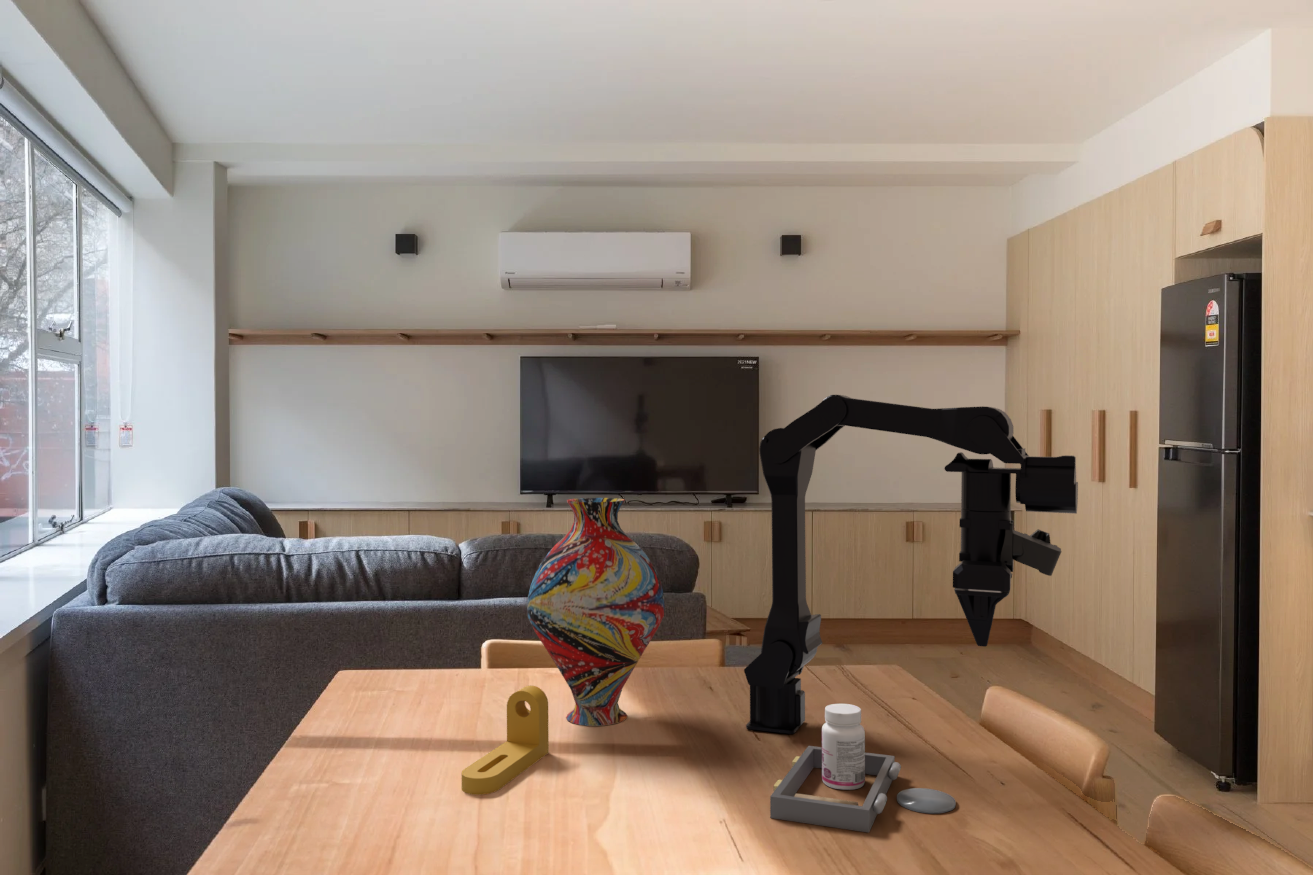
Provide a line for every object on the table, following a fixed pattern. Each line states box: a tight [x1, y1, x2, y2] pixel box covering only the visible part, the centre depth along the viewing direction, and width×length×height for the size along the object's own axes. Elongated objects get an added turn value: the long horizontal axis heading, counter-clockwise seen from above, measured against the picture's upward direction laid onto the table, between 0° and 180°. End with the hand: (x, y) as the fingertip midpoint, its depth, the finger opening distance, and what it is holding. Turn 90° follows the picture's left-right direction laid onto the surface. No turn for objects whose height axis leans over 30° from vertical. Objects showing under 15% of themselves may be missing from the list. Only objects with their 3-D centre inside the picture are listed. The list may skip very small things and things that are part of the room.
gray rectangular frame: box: [769, 745, 902, 833], centre depth 106 cm, size 12×17×2 cm
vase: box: [527, 497, 666, 727], centre depth 135 cm, size 19×19×30 cm
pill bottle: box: [821, 703, 866, 791], centre depth 110 cm, size 5×5×8 cm
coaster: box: [896, 787, 957, 814], centre depth 104 cm, size 6×6×1 cm
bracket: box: [461, 685, 550, 796], centre depth 114 cm, size 15×4×8 cm, turn 161°
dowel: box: [794, 792, 859, 806], centre depth 101 cm, size 6×2×2 cm, turn 68°
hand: (984, 637), depth 119 cm, fingers open, 9 cm apart
